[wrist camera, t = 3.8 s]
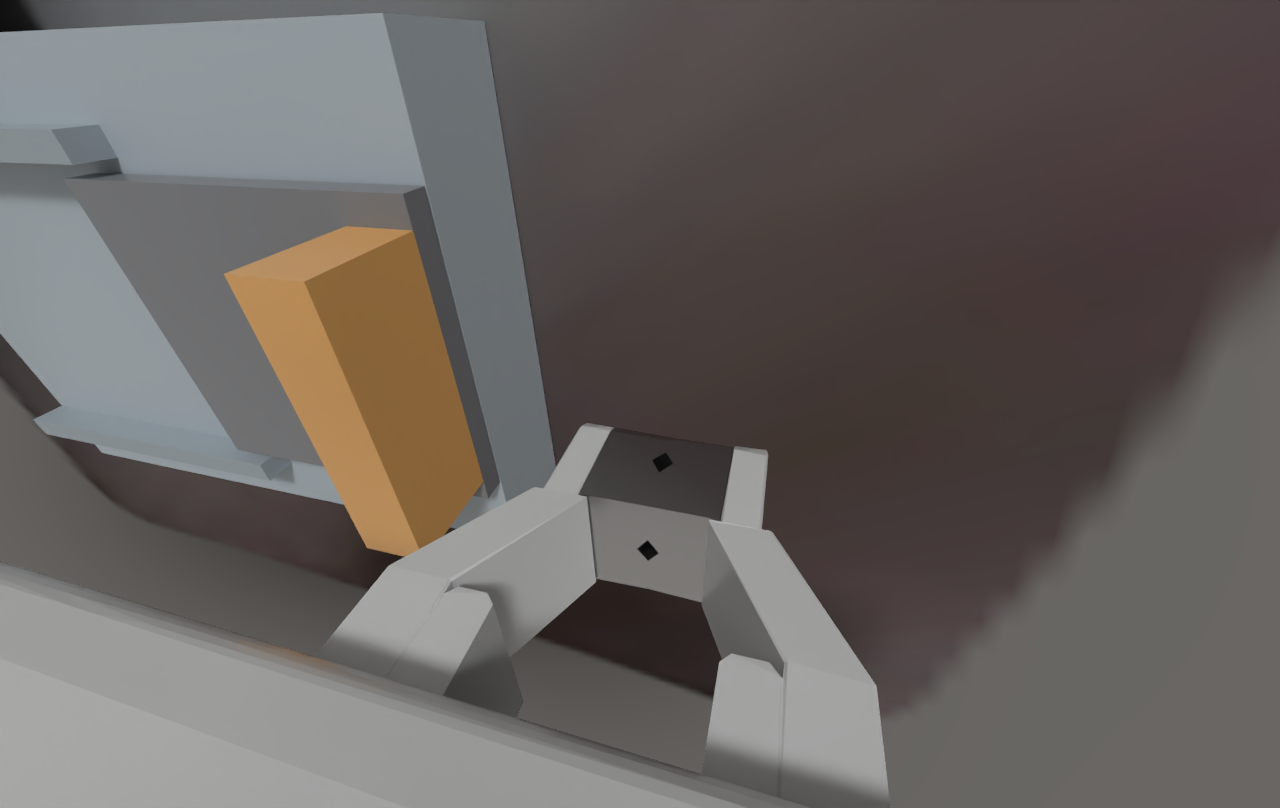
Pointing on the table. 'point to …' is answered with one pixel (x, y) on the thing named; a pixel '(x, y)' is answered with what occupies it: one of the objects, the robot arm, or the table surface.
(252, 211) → the shutter
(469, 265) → the socket
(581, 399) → the table surface
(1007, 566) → the table surface
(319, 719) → the robot arm
